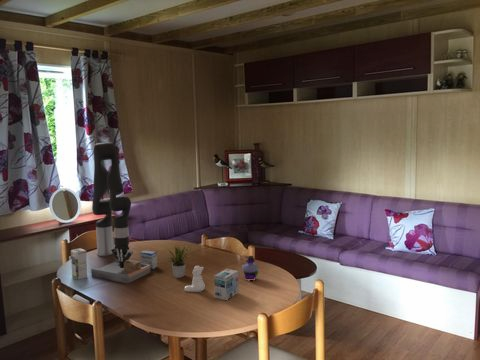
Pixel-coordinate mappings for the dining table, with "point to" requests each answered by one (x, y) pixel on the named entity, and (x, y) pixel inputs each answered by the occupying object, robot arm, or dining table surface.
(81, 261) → the syrup box
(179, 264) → the house plant
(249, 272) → the potion bottle
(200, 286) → the white creature statuette
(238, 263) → the dining table surface
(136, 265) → the walnut block
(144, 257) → the medicine box
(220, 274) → the light bulb box
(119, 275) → the grey tray
